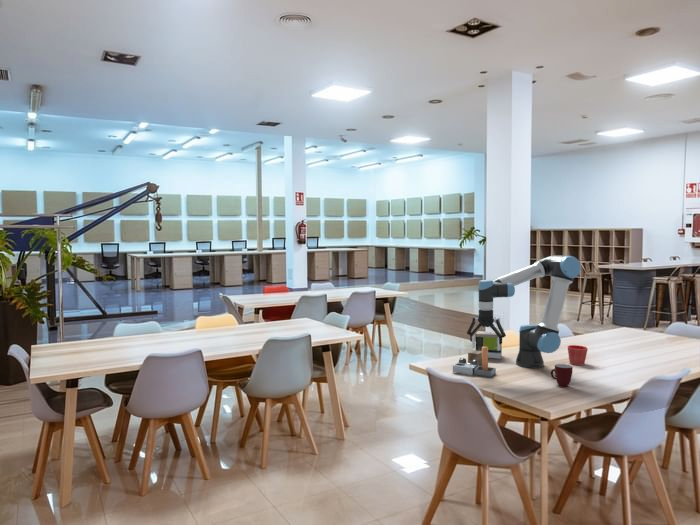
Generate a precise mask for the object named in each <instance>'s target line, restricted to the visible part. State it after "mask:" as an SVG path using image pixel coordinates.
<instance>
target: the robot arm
mask: <svg viewBox="0 0 700 525" xmlns="http://www.w3.org/2000/svg"><path fill="white" fill-rule="evenodd" d="M581 271H582V265H581V263H580V261H579V259H577V257H575V256H572V255H562V254H561V255H560V254H559V255H558V254H553V255H548V256H546V257H544V258H541V259H538V260H536V261H534V262H533V264H531V265H528V266H525V267H523V268H521V269H517V270H515V271H513V272H510V273H508V274H505V275H502V276H499V277H497V278H495V279H481V280H479V281H478V287H477V289H478V317H476V316H475V317H472V322H471V324H470V325H469V328H468V329H467V331H466V335H469V336H470V338H469V340H470V342H471V348H472V349H474V348H475V349H476V333H477V331H478V330H479V329H480V328H481V327H483V328H485V327H486V328H490V329H491V330H492V332H495V333H496V334H497V336H498V337H499V338H498V351H499V350H500V344H502V345H503V338H506V336H507V335H506V333H505V331H504V328H503V327H502V324H501V323H500V322H501V321H500V318H497V319H495V318H494V299H495V298H512V297H514V296H515V293H516V288H515V287H516V286H518V285H521V284H524V283H526V282H529V281H531V280H533V279H536V278H539V277H540V278H544V277H547V276H550V278H551V281H552V282H551V285H550V289H549V291H548V295H547V300H546V303H545V307H544V311H543V314H542V318H541V322H540V323H538V324H522V325H520V326H519V331H518V332H519V342H518V343H519V345H518V346H519V347H518V348H519V349H518V353H517V356H516V359H515V365H517V366H519V367H524V368H531V369H532V368H533V369H534V368H537V369H538V368H542V367H544V366H545V361H544V359H543V358H544V357H543V354H542V353H545V354H553V353H555V352H556V351H557V350H558V349H559V348H560V347H561V343H562V340H561V337H560V336H559V332H560V330H559V328H558V326H559V321H560V318H561V315H562V311H563V309H564V308H563V307H564V304H565V300H566V296H567V294H568V293H567V292H568V289H569V286H570V284H572V283H573V282H574V279H575V278H577V277H578V276H579V275H580V273H581ZM476 322H478V323H479V324H477V325H476ZM495 324H496V326H495ZM475 325H476V327H475V328H474V326H475ZM473 328H474V329H473ZM497 328H498V329H497ZM500 333H501V334H500Z"/></svg>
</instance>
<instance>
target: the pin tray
mask: <svg viewBox="0 0 700 525" xmlns="http://www.w3.org/2000/svg"><path fill="white" fill-rule="evenodd" d="M496 370H497V368H496V367H489V366H488V371H483V370H482V365H479V366H478V367H477V368H476V369H474V375H473V376H476V375H477V376H478V377H483V376H484V378H493V377H494V376H495V375H496V374H497V373H496V372H497V371H496ZM493 375H494V376H493Z"/></svg>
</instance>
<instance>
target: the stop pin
mask: <svg viewBox="0 0 700 525" xmlns="http://www.w3.org/2000/svg"><path fill="white" fill-rule="evenodd" d="M481 366H482V370H483V371H488V367H489V358H488V347H482V364H481Z"/></svg>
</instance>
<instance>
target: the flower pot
mask: <svg viewBox="0 0 700 525" xmlns="http://www.w3.org/2000/svg"><path fill="white" fill-rule="evenodd" d="M567 352H568V353H567V354H568V360H569V364H571V365H574V366H585V362H586V360H587V354H588V347H587V346H583V345H576V344H570V345H567Z"/></svg>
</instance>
